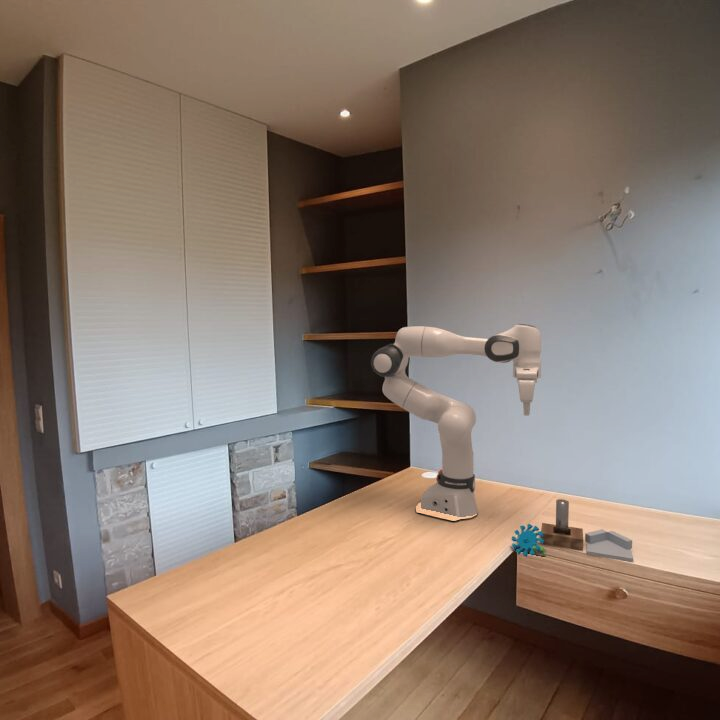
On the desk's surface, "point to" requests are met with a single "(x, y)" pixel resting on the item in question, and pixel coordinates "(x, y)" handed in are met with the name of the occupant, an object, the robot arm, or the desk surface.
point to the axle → (562, 516)
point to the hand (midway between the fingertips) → (526, 413)
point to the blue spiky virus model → (528, 540)
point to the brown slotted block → (562, 537)
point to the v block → (609, 545)
